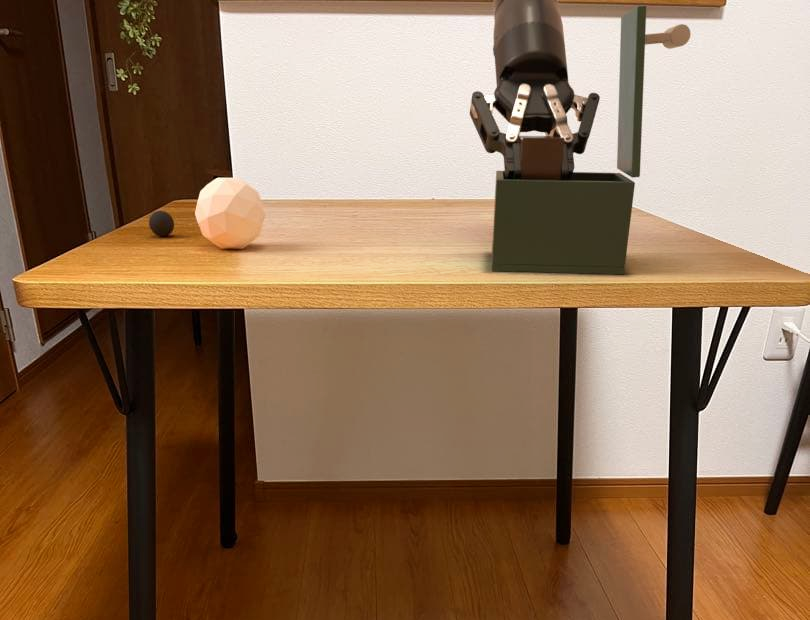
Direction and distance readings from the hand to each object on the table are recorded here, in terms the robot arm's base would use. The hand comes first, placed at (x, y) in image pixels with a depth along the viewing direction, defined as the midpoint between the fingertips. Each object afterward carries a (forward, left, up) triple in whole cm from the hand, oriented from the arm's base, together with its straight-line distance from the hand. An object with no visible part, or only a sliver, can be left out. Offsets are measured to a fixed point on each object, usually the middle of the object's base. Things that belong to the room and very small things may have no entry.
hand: (540, 180), depth 89 cm
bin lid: (-6, -6, +8) cm, 11 cm away
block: (+1, -2, -5) cm, 5 cm away
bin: (-1, -3, -8) cm, 9 cm away
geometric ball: (+33, +12, -9) cm, 36 cm away
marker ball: (+46, +11, -8) cm, 48 cm away
